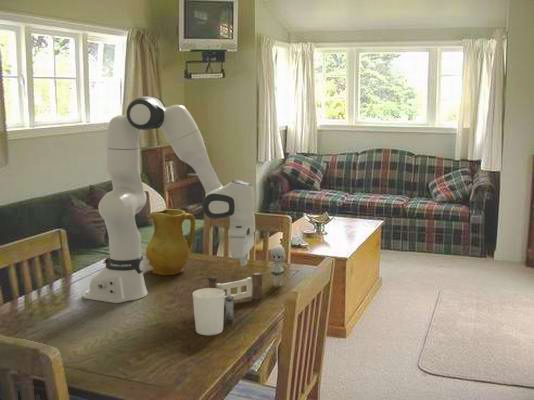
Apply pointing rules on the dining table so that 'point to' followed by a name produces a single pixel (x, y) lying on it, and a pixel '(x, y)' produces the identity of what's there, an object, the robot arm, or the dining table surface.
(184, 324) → the dining table surface
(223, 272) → the dining table surface
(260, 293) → the fence post
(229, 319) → the post
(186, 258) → the pitcher
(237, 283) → the gate
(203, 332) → the candle holder
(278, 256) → the figurine
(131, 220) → the robot arm
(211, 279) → the hinge post
